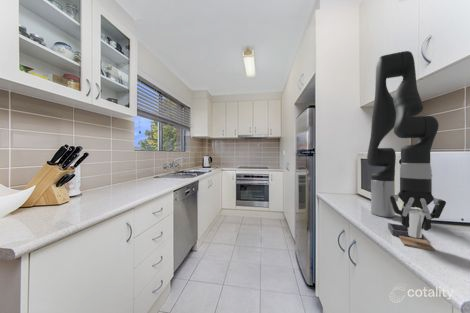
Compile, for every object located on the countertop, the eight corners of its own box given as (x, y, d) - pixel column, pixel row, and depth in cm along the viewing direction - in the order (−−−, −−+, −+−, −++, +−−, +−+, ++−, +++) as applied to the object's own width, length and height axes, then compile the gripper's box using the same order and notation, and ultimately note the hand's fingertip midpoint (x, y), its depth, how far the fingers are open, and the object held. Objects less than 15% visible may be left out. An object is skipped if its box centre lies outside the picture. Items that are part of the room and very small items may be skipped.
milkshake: (431, 240, 58) (433, 209, 58) (411, 238, 59) (413, 207, 59) (419, 234, 62) (421, 205, 62) (401, 232, 63) (403, 203, 63)
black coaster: (388, 227, 74) (388, 223, 74) (415, 232, 70) (415, 227, 70) (392, 235, 67) (392, 229, 67) (423, 240, 63) (423, 234, 63)
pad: (398, 237, 65) (398, 235, 65) (426, 241, 62) (426, 240, 62) (404, 245, 59) (404, 243, 59) (434, 251, 56) (434, 249, 56)
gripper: (440, 176, 60) (441, 228, 60) (385, 174, 68) (385, 221, 68) (452, 179, 54) (452, 237, 54) (389, 176, 61) (389, 227, 61)
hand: (415, 227), depth 61 cm, fingers closed on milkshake, 4 cm apart
